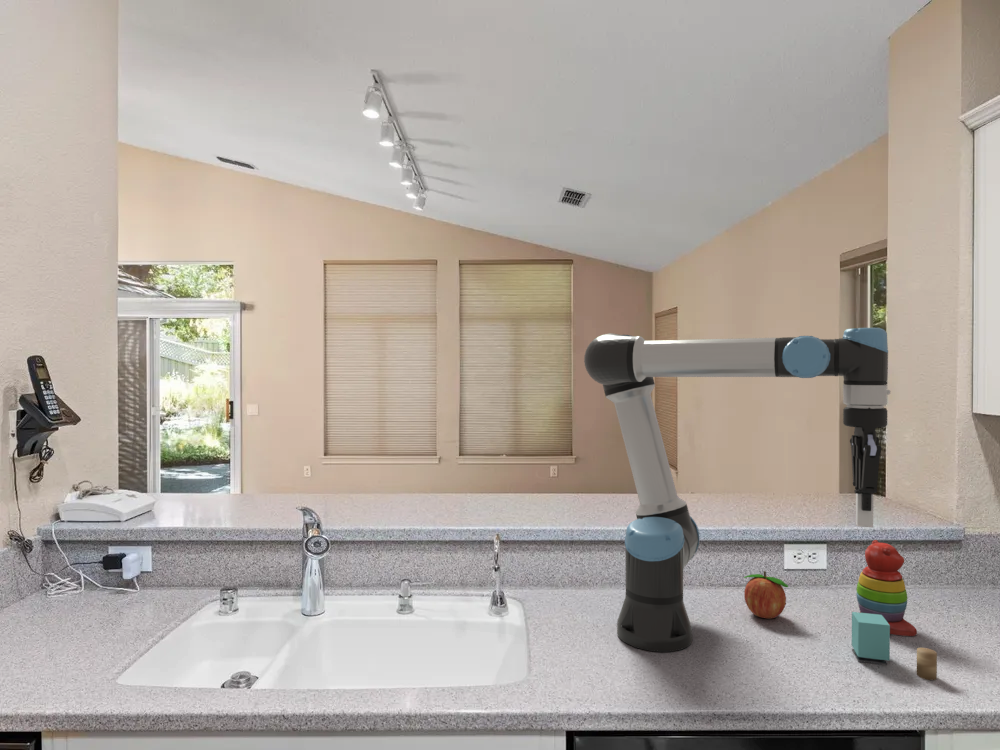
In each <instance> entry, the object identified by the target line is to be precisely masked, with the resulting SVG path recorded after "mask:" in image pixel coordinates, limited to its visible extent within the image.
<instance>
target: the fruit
mask: <svg viewBox="0 0 1000 750" xmlns="http://www.w3.org/2000/svg"><path fill="white" fill-rule="evenodd" d="M743 578H744V579H745V578H751V579H749V581H748V582H747V583H746V585H745V587H744V590H743V591H744V601H745V604H746V606H747V608H748V610H749V611H750V612H751V613H752V614H753V615H755V616H756V617H758V618H761V619H762V618H763V619H775V618H777V617H778V616H780V615H782V613H783V612H784V609H785V607H786V604H787V603H786V602H787V596H786V591H785V589H784V588H789V585H788V584H787V583H785V581H783V580H782V579H779V578H777V577H774V576H767V571H766V570H765V571H764V570H763V574H761V573H754V574H753V573H752V574H749V575H746V576H744V577H743Z"/></svg>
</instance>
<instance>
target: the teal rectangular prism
mask: <svg viewBox="0 0 1000 750" xmlns="http://www.w3.org/2000/svg"><path fill="white" fill-rule="evenodd" d="M890 637H891V634H890V625H889V624H888V622H887V621H886V620H885V618H884V617H883V616H882V615H879V614H869V613H860V611H859V612H858V611H851V647H852V649H854V650H855V652H856V654H857V655H858V657H864V658H872V659H880V660H885V661H891V659H890V657H891V656H890V652H891V650H890V649H891V645H890V644H891V640H890V639H891V638H890Z"/></svg>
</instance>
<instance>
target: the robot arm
mask: <svg viewBox="0 0 1000 750" xmlns="http://www.w3.org/2000/svg"><path fill="white" fill-rule="evenodd" d="M888 344H889V343H888V333H887V331H886V330H885V329H884V328H881V327H857V328H856V327H855V328H846V329H845V330H844V331H843V335H842V338H841V337H840V338H834V339H831V338H829V339H827V338H824V339H823V338H819V337H815V336H813V335H800V336H796V337H795V336H792V337H791V336H790V337H758V338H757V337H747V338H745V337H743V338H709V339H706V338H705V339H704V338H702V339H668V340H666V339H665V340H661V339H660V340H646V339H645V338H644V337H643V336H640V335H636V336H635V335H634V336H633V335H630V334H617V333H604V334H601V335H598V336H597V337H596V338H594V339H592V341H590V343H589V344H588V346H587V347H586V349H585V353H584V358H583V360H584V361H583V362H584V367H585V370H586V372H587V374H588V375H589V377H591V379H592V380H594V381H595V382H597V383H598V384H601V385H602V388H603V393H604V396H605V398H606V399H607V400H609V401H611V402H612V403H613V404H614V408H615V412H616V416H617V419H618V424H619V428H620V432H621V435H622V439H623V443H624V447H625V451H626V455H627V458H628V462H629V466H630V469H631V473H632V478H633V481H634V485H635V489H636V493H637V496H638V497H637V498H638V501H639V506H638V507H637V509H636V510H635V516H636V519H634V520H633V521H631V522H630V523H629V524H628V525H627V527H626V531H625V537H624V547H625V597H624V601H623V604H622V606H621V609H620V613H619V616H618V618H617V621H616V622H617V623H616V634H617V637H618V638H619V639H620V640H621V641H622V642H624V643H625V644H627V645H629V646H632V647H634V648H637V649H640V650H645V651H651V652H661V653H667V652H669V653H670V652H675V651H680V650H683V649H686V648H687V647H689V646H690V645H691V644H692V642H693V628H692V625H691V622H690V618H689V616H688V615H689V614H688V612H687V609H686V608H687V607H686V606H685V601H684V569H685V567H686V566H687V565H688V563H689V562H690V561H691V560H692V559H693V558H694V557H695V554H696V553H697V552H698V549H699V545H700V538H701V537H700V536H701V535H700V531H699V527H698V525H697V523H696V521H695V520H694V518H692V516H691V514H690V511H689V507H688V504H687V502H686V500H683V499H682V498H680V497H679V496H678V493H677V489H676V485H675V482H674V481H675V480H674V478H673V474H672V470H671V468H670V463H669V459H668V455H667V453H666V452H667V451H666V448H665V447H666V446H665V444H664V441H663V437H662V432H661V429H660V424H659V421H658V417H657V413H656V410H655V407H654V402H653V399H652V395H651V394H652V392H653V390H654V389H655V387H656V383H655V379H654V378H801V379H813V378H816V377H842V378H843V384H842V395H843V396H842V398H843V399H842V404H844V405H846V406H845V407H844V408H843V409H842V410H843V413H842V418H843V419H842V423H843V425H844V426H846V427H848V428H849V427H851V428H854V431H853V434H852V435H851V436H850V437H851V438H850V439H849V443H850V449H851V469H852V486H853V487H854V491H853V492H854V494H855V525H856V526H857V527H858V528H859V527H860V528H874V495H875V494H877V492H878V481H879V480H878V479H879V470H880V469H879V467H880V457H881V451H882V446H881V445H880V442H879V441H880V438H879V437H878V436H877V431H876V430H877V429H882V428H886V427H887V426H888V409H887V408H885V407H884V406H886V405H888V395H890V394H891V390H890V389H888V378H889V377H888V371H889V370H888V367H889V347H888V346H889V345H888Z"/></svg>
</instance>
